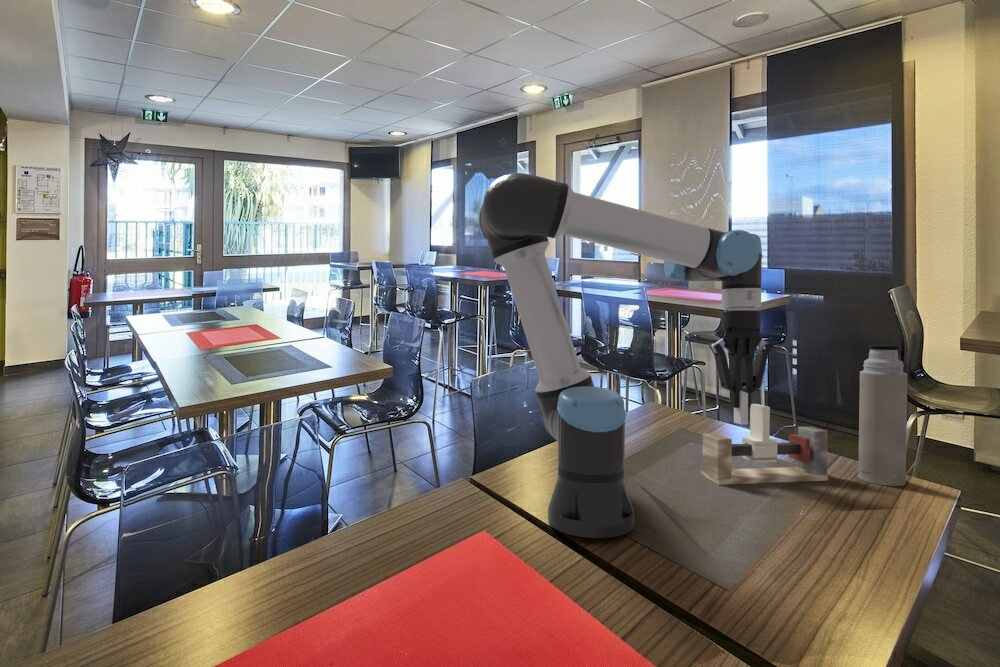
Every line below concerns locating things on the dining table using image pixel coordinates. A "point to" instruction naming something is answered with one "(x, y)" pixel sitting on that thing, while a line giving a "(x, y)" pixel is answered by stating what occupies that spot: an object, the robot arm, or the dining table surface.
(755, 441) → the cream t-shaped block
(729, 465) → the rail
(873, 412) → the thermos bottle
